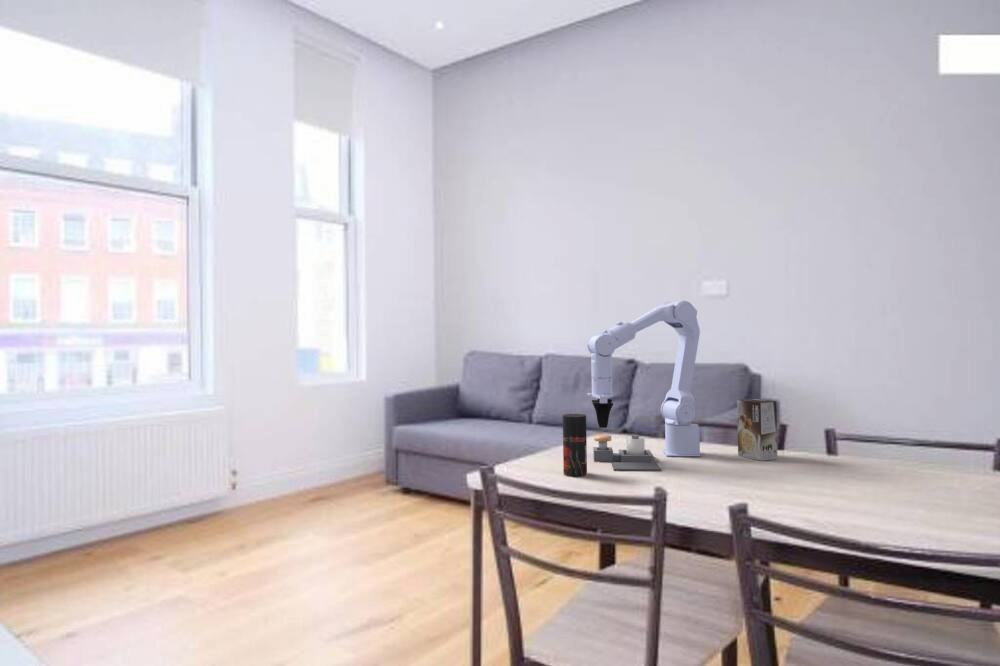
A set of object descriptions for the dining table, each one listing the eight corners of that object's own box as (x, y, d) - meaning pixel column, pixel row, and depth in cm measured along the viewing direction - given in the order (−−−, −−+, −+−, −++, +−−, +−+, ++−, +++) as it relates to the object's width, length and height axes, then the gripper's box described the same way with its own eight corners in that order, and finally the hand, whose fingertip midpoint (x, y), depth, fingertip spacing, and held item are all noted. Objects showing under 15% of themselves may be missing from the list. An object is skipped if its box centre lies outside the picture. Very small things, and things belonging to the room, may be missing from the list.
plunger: (611, 448, 187) (610, 435, 187) (612, 451, 182) (611, 437, 182) (593, 448, 188) (593, 435, 188) (594, 451, 183) (594, 437, 183)
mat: (656, 464, 178) (656, 462, 178) (661, 471, 170) (661, 469, 170) (611, 464, 179) (611, 462, 179) (613, 470, 171) (613, 468, 171)
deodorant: (588, 476, 165) (587, 416, 165) (564, 477, 165) (563, 417, 165) (585, 471, 171) (584, 413, 171) (562, 471, 171) (561, 413, 171)
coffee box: (778, 459, 182) (778, 400, 182) (761, 461, 179) (761, 402, 179) (753, 453, 190) (752, 397, 190) (736, 455, 188) (735, 399, 187)
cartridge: (643, 458, 186) (643, 434, 186) (645, 461, 182) (645, 437, 181) (625, 458, 187) (625, 434, 187) (627, 461, 182) (627, 437, 182)
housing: (649, 456, 188) (649, 446, 188) (653, 463, 180) (653, 452, 179) (593, 456, 190) (592, 446, 190) (594, 462, 181) (594, 451, 181)
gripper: (586, 375, 192) (587, 422, 193) (588, 380, 178) (589, 430, 178) (611, 375, 192) (611, 422, 192) (614, 379, 177) (615, 430, 177)
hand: (602, 426), depth 185 cm, fingers open, 4 cm apart
